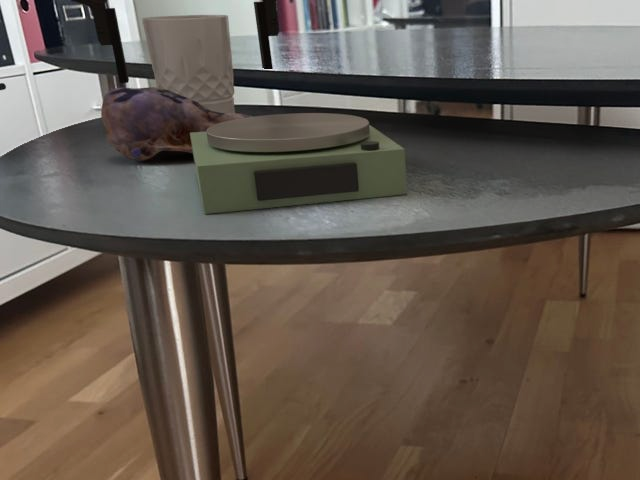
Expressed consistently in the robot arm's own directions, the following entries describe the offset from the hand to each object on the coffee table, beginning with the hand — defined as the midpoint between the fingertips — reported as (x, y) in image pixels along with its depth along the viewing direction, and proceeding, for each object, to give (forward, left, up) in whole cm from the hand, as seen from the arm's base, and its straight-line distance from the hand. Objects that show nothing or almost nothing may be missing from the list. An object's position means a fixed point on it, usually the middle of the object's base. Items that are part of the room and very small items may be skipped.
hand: (197, 77), depth 84 cm
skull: (+17, -2, -5) cm, 18 cm away
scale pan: (+31, +5, -1) cm, 31 cm away
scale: (+31, +5, -5) cm, 32 cm away
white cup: (0, 0, -5) cm, 5 cm away
